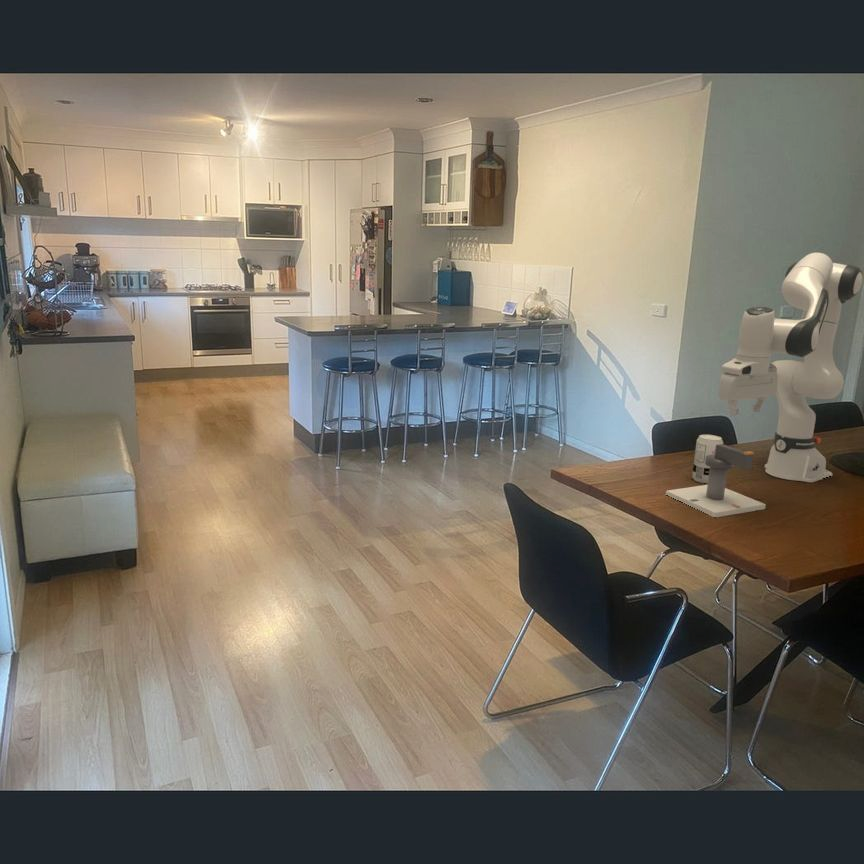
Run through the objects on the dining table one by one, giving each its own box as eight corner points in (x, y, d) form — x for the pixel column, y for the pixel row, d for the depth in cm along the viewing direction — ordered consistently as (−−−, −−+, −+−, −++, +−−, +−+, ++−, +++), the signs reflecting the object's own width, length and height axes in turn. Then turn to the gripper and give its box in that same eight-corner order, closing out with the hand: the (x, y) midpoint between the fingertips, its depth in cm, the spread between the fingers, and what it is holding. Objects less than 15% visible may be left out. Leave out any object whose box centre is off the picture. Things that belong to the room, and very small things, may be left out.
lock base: (713, 488, 226) (718, 453, 223) (764, 509, 208) (770, 472, 206) (665, 495, 218) (669, 459, 215) (714, 517, 201) (719, 479, 198)
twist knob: (699, 462, 212) (701, 441, 210) (718, 460, 215) (721, 438, 214) (737, 476, 199) (740, 454, 198) (757, 473, 203) (760, 451, 201)
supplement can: (694, 475, 239) (699, 432, 235) (719, 479, 235) (725, 436, 231) (689, 481, 232) (694, 437, 228) (715, 486, 228) (721, 441, 224)
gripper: (767, 361, 205) (761, 407, 209) (717, 366, 196) (711, 414, 200) (786, 365, 199) (779, 412, 203) (735, 369, 191) (729, 418, 194)
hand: (745, 413), depth 201 cm, fingers open, 8 cm apart
